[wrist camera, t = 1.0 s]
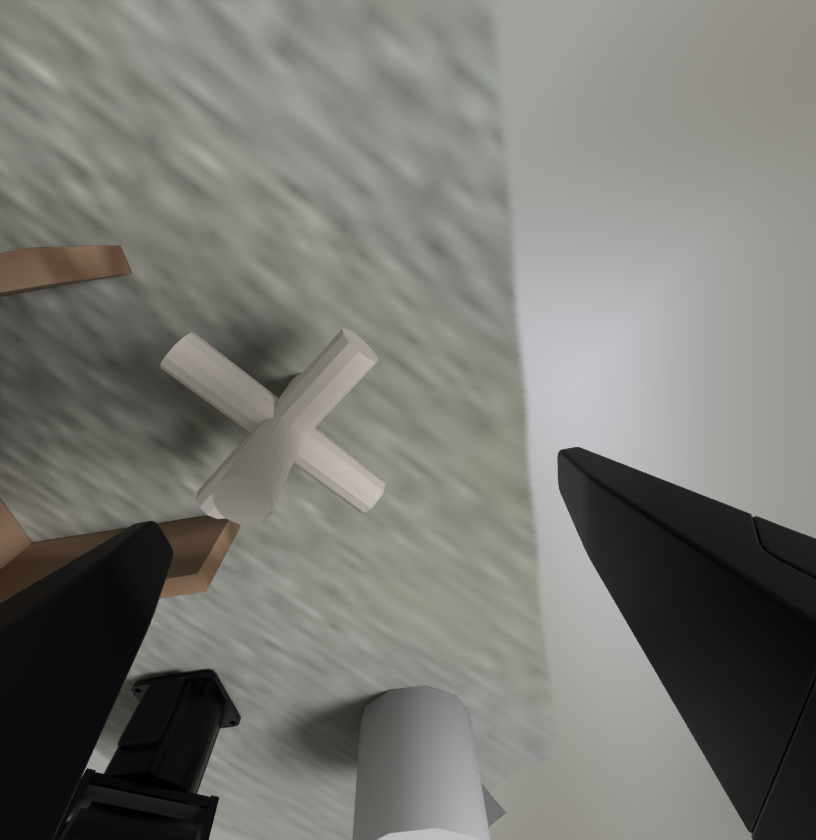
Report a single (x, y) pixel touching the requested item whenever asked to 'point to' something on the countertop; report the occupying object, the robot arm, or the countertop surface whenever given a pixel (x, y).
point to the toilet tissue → (420, 770)
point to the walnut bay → (29, 562)
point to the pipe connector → (277, 427)
